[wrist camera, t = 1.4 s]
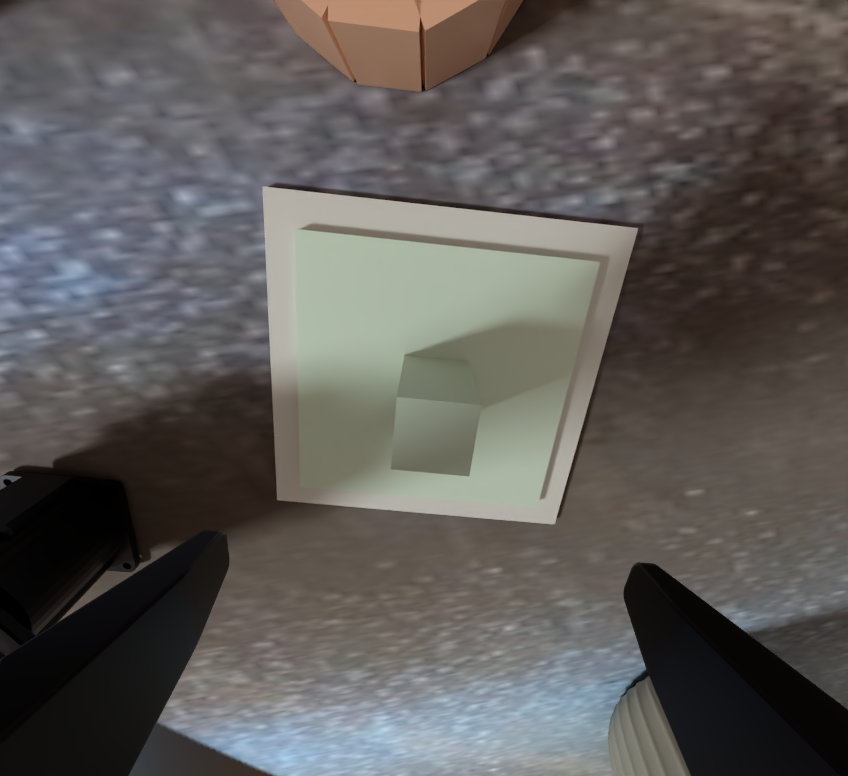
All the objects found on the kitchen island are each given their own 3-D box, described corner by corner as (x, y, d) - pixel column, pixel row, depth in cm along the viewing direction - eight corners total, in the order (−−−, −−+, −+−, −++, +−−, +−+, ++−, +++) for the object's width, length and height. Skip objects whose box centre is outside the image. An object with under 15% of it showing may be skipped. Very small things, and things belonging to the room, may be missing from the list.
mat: (552, 519, 23) (554, 524, 23) (279, 495, 23) (277, 500, 22) (633, 228, 17) (638, 228, 17) (266, 187, 17) (262, 186, 16)
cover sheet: (534, 501, 22) (567, 583, 17) (303, 480, 22) (264, 559, 17) (594, 261, 17) (666, 273, 12) (299, 228, 17) (242, 227, 12)
